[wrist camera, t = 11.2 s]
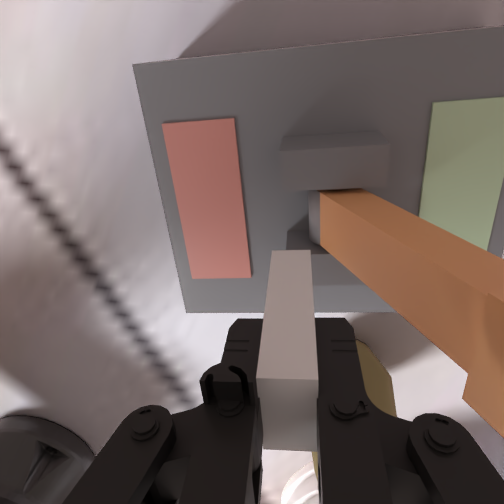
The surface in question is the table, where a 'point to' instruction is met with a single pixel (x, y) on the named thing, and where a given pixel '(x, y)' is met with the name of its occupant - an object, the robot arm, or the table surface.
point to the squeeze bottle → (372, 386)
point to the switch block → (321, 153)
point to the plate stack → (302, 487)
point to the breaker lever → (423, 283)
